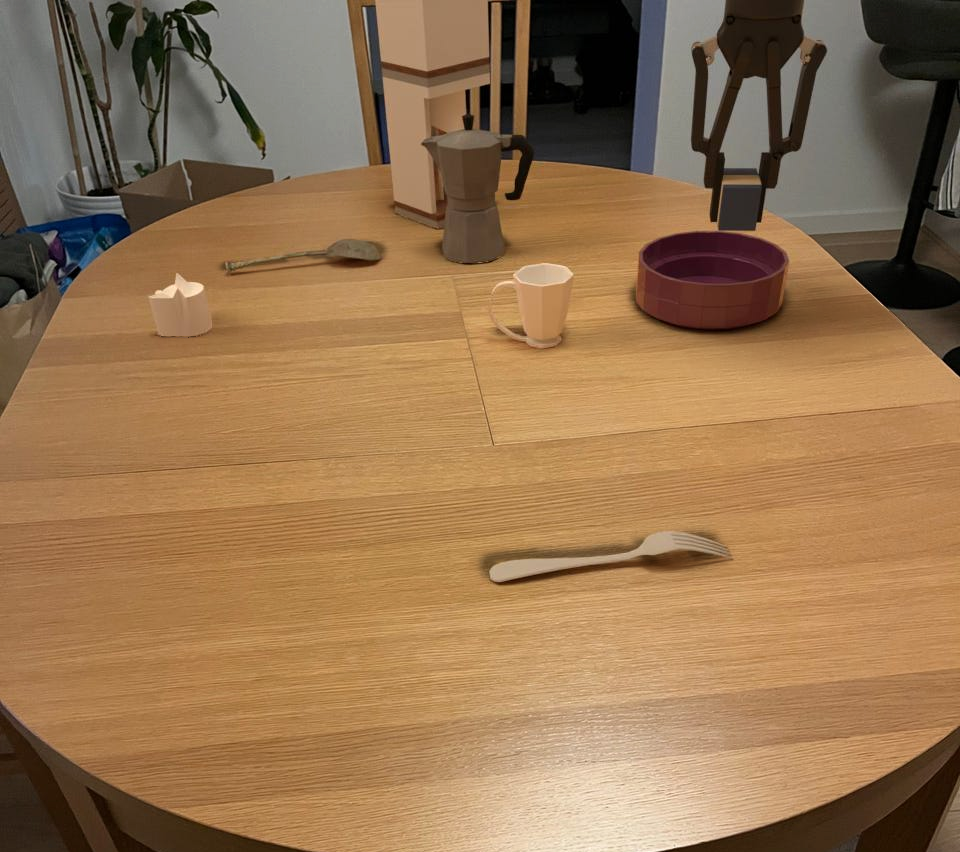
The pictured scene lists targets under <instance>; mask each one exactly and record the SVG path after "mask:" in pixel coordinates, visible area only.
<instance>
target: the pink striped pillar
mask: <svg viewBox="0 0 960 852" xmlns="http://www.w3.org/2000/svg"><path fill="white" fill-rule="evenodd" d="M374 1H375V11H376V22H377V23H376V24H377V34H378V44H379V54H380V64H381V74H382V85H383V96H384V108H385V119H386V129H387V139H388V149H389V150H388V151H389V159H390V161H389V162H390V171H391V172H390V173H391V180H392V190H393V201H394V213H398V214H400V215H403V216H406V217H408V218H411V219H414V220H416V221H419V222H422V223H424V224H427V225H430V226H432V227H435V228H441V227H444V225H445V215H446V207H447V206H448V202H447V194H446V193H445V190H444V185H443V180H442V175H441V171H440V170H439V168H438V166H437V165H436V163H435V161H434V160H433V158H432V156H431V155H430V153H429V152H428V150H427V149H426V148H425V147H424V146H422V145H421V143H422V142H423V141H424V140H425V139H426V138H430V137H434V136H440V135H445V134H447V133H449V132H453V131H458V130H462V129H464V124H463V119H462V116H464V115H466V114H467V99H466V91H467V90H470V89H475V88H478V87H482V86H485V85H490V84H491V71H490V69H491V67H490V65H491V64H490V34H489V33H490V31H489V29H490V28H489V0H374ZM400 215H399V216H400ZM408 218H407V219H408ZM416 221H415V222H416ZM424 224H423V225H424ZM432 227H431V228H432Z"/></svg>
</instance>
